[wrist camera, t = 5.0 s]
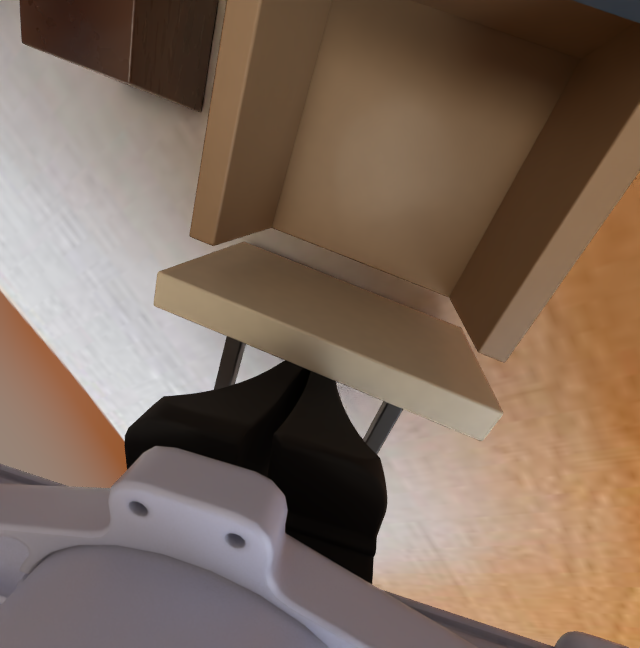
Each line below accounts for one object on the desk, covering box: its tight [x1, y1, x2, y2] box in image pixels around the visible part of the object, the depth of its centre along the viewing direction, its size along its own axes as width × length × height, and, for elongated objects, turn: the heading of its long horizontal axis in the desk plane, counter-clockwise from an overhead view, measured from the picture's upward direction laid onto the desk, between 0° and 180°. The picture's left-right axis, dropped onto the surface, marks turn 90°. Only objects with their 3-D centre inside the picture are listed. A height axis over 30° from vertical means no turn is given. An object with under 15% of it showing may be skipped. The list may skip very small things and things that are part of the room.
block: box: [20, 0, 218, 112], centre depth 12 cm, size 4×4×4 cm
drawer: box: [154, 0, 640, 454], centre depth 11 cm, size 16×11×6 cm
